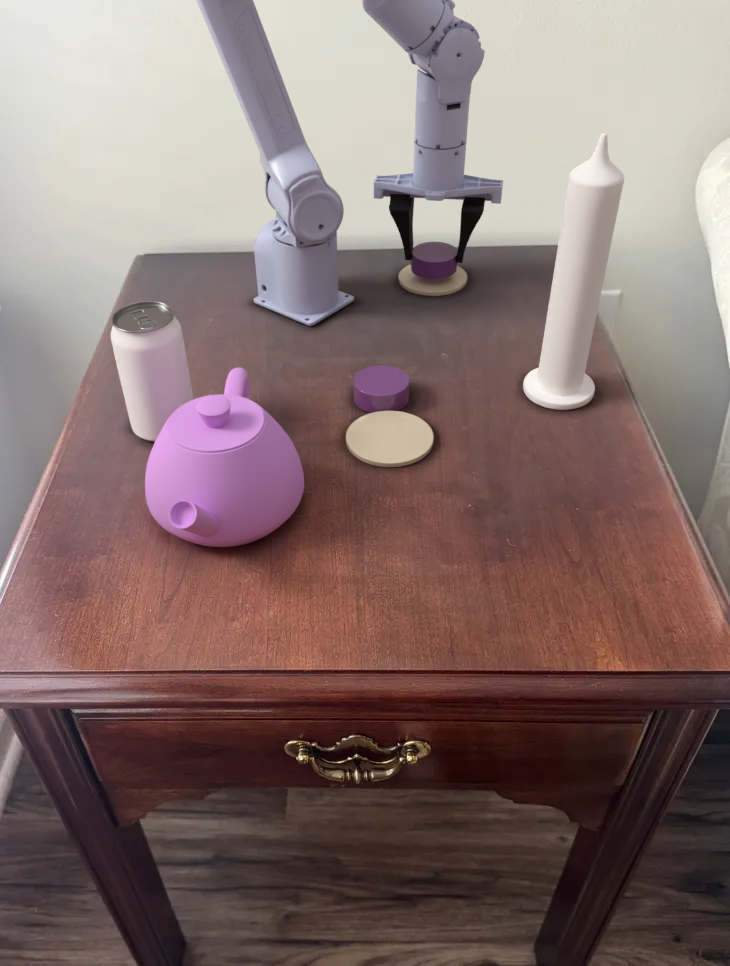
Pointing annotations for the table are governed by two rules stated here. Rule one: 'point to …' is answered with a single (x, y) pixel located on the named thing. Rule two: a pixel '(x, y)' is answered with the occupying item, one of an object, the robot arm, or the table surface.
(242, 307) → the table surface
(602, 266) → the candle
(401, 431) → the coaster near
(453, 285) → the coaster far
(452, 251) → the purple round puck
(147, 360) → the can
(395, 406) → the purple puck
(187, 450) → the teapot
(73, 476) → the table surface
